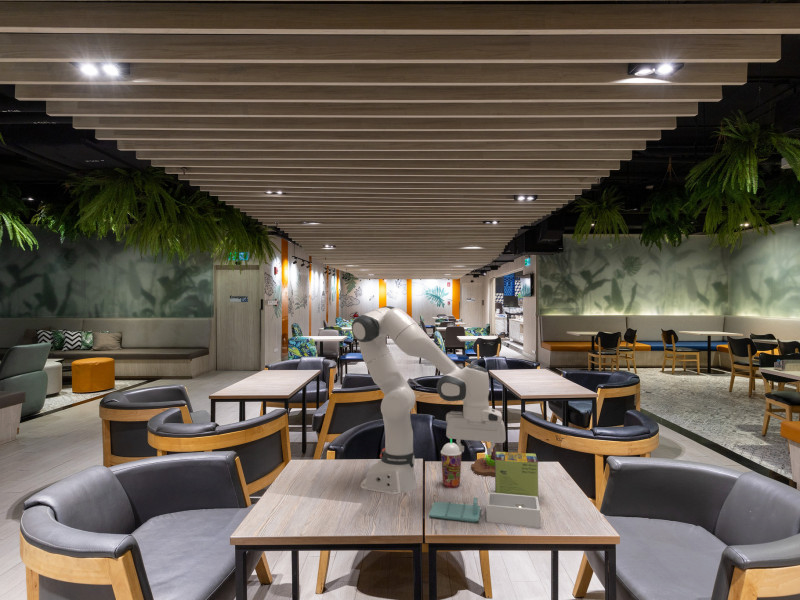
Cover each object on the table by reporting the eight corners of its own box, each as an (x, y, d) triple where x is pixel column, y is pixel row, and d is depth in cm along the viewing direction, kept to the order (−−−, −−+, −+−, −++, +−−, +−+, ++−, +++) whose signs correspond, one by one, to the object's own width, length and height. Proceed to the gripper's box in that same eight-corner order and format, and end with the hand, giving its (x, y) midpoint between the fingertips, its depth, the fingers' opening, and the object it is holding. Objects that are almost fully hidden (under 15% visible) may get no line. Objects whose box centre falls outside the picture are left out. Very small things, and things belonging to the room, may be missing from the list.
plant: (519, 465, 207) (519, 440, 207) (516, 481, 189) (515, 454, 189) (475, 460, 214) (475, 436, 214) (467, 475, 195) (467, 449, 195)
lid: (429, 519, 153) (429, 502, 153) (434, 505, 164) (433, 490, 164) (478, 524, 150) (478, 507, 150) (480, 510, 160) (480, 494, 160)
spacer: (515, 517, 154) (515, 507, 154) (515, 513, 158) (515, 503, 158) (525, 518, 154) (525, 508, 154) (524, 514, 157) (524, 504, 157)
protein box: (538, 505, 165) (538, 462, 165) (495, 502, 168) (495, 459, 168) (536, 494, 175) (535, 453, 175) (495, 490, 178) (494, 451, 178)
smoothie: (448, 491, 177) (448, 440, 178) (437, 484, 185) (436, 434, 185) (466, 487, 181) (465, 437, 181) (454, 480, 189) (453, 432, 189)
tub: (486, 523, 151) (486, 505, 151) (487, 509, 162) (487, 492, 162) (540, 529, 147) (539, 510, 148) (537, 513, 158) (537, 496, 158)
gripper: (444, 412, 157) (444, 453, 157) (505, 417, 152) (505, 458, 152) (447, 408, 163) (446, 447, 163) (505, 412, 158) (505, 452, 158)
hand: (475, 452), depth 158 cm, fingers open, 8 cm apart
